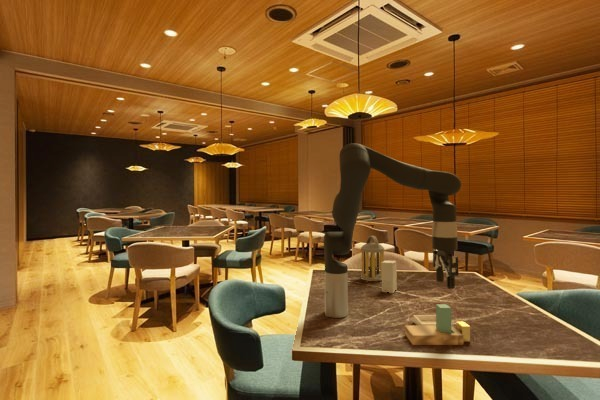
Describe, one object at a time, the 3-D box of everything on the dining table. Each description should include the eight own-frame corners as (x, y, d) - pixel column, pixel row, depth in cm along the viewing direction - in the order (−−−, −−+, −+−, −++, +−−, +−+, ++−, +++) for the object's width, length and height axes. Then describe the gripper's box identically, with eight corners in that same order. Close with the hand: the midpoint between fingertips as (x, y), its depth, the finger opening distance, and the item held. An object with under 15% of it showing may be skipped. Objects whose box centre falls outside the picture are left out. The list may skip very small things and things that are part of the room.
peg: (440, 341, 104) (440, 307, 104) (436, 337, 108) (435, 304, 108) (451, 341, 104) (451, 307, 104) (446, 337, 108) (446, 304, 108)
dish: (422, 331, 112) (422, 324, 112) (413, 321, 121) (413, 315, 121) (450, 331, 112) (450, 324, 112) (439, 321, 121) (439, 314, 121)
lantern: (356, 277, 190) (355, 234, 190) (377, 275, 195) (376, 233, 194) (368, 283, 177) (367, 237, 177) (390, 280, 181) (390, 236, 181)
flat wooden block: (412, 344, 102) (412, 335, 102) (404, 334, 110) (404, 325, 110) (463, 344, 102) (463, 335, 102) (451, 334, 110) (451, 325, 110)
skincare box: (393, 293, 157) (393, 263, 156) (381, 292, 160) (380, 262, 159) (397, 289, 164) (397, 260, 164) (385, 287, 167) (385, 259, 167)
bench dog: (462, 341, 104) (462, 326, 104) (456, 336, 108) (456, 321, 108) (470, 341, 104) (469, 326, 104) (463, 336, 108) (463, 321, 108)
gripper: (466, 237, 98) (467, 291, 98) (447, 232, 112) (447, 279, 112) (441, 237, 98) (442, 291, 98) (425, 233, 112) (425, 279, 112)
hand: (445, 284), depth 105 cm, fingers open, 8 cm apart
